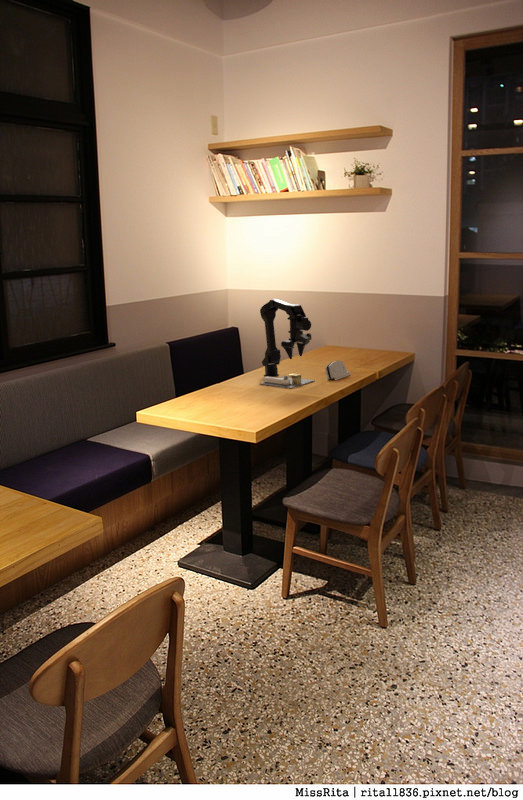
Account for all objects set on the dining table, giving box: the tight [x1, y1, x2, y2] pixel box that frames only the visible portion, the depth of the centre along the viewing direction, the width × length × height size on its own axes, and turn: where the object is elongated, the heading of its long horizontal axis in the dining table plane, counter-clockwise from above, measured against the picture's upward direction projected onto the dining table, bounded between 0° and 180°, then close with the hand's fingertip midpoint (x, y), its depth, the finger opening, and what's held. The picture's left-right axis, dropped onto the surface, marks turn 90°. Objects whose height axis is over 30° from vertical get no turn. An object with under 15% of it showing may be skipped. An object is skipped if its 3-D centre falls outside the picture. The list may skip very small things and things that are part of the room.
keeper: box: [287, 373, 302, 384], centre depth 366 cm, size 6×4×5 cm
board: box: [259, 375, 315, 390], centre depth 371 cm, size 21×21×1 cm
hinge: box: [324, 360, 351, 381], centre depth 380 cm, size 17×5×10 cm, turn 144°
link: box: [263, 375, 290, 385], centre depth 367 cm, size 16×4×4 cm, turn 50°
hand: (295, 357), depth 368 cm, fingers open, 9 cm apart
